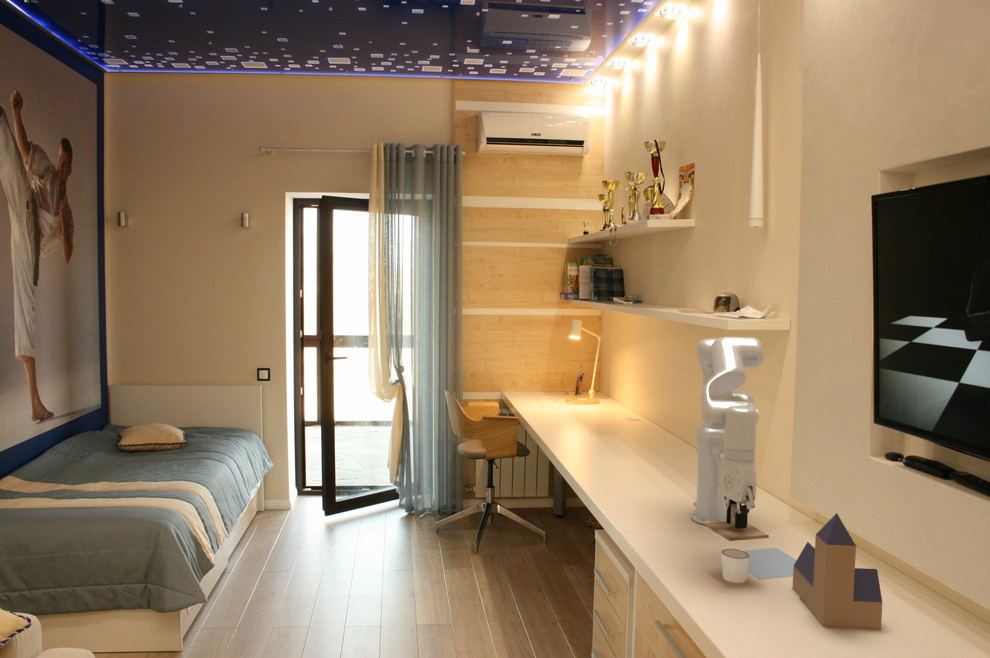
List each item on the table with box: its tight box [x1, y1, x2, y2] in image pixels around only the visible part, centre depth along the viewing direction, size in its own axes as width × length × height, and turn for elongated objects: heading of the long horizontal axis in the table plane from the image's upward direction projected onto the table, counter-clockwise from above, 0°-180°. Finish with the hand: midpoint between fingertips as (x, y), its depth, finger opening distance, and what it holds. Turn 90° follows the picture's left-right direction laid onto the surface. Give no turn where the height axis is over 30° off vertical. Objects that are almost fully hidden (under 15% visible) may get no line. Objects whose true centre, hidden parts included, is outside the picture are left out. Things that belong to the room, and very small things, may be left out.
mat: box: [744, 547, 797, 580], centre depth 187 cm, size 18×18×1 cm
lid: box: [705, 504, 770, 542], centre depth 175 cm, size 11×11×7 cm
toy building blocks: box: [792, 512, 883, 630], centre depth 161 cm, size 12×19×25 cm, turn 176°
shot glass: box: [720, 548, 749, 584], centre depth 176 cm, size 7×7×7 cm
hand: (736, 525), depth 175 cm, fingers closed on lid, 3 cm apart
